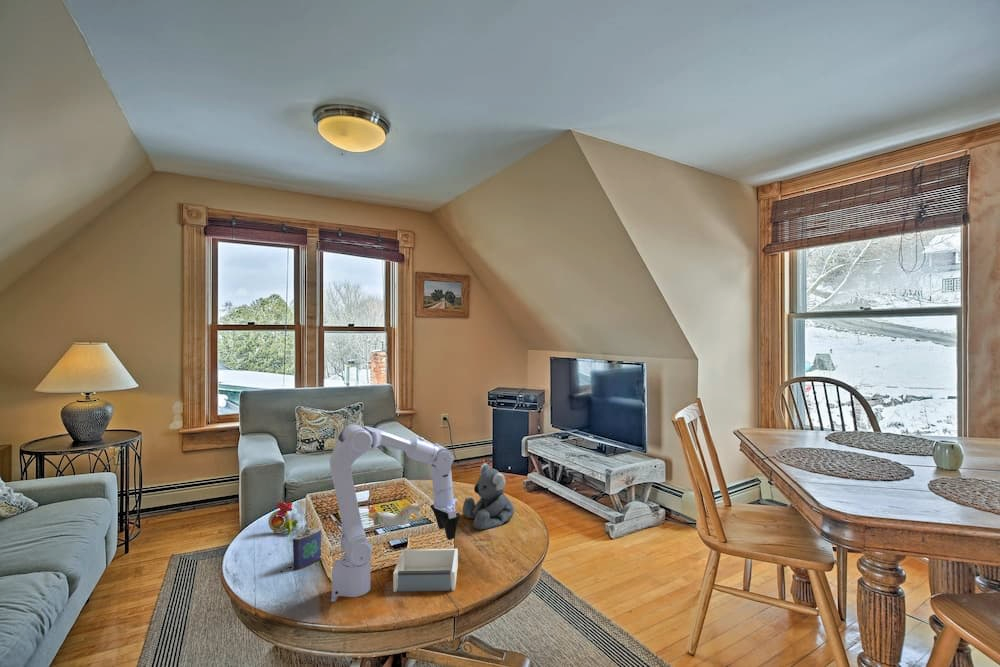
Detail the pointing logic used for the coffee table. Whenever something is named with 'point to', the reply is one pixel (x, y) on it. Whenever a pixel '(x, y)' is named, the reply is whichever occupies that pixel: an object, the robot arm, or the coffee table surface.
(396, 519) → the unicorn figurine
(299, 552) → the flask
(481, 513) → the koala plush
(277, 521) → the bird rattle
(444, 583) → the door panel
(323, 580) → the coffee table surface
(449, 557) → the white cubby shelf
